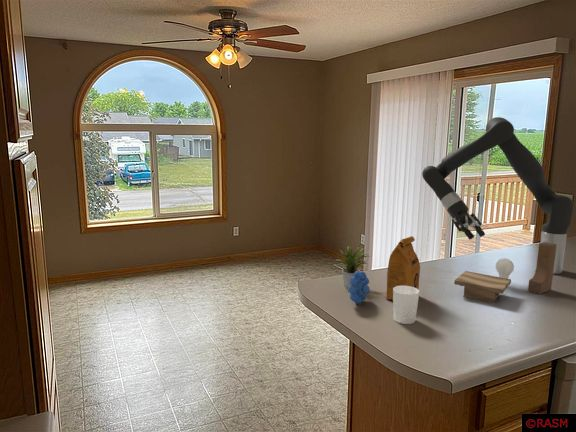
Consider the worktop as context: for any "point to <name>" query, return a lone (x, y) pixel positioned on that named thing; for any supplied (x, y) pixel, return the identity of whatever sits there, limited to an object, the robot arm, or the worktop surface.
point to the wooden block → (543, 269)
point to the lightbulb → (504, 267)
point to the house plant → (351, 264)
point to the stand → (482, 285)
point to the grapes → (359, 287)
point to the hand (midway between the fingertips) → (477, 237)
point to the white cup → (405, 304)
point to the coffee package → (403, 267)
